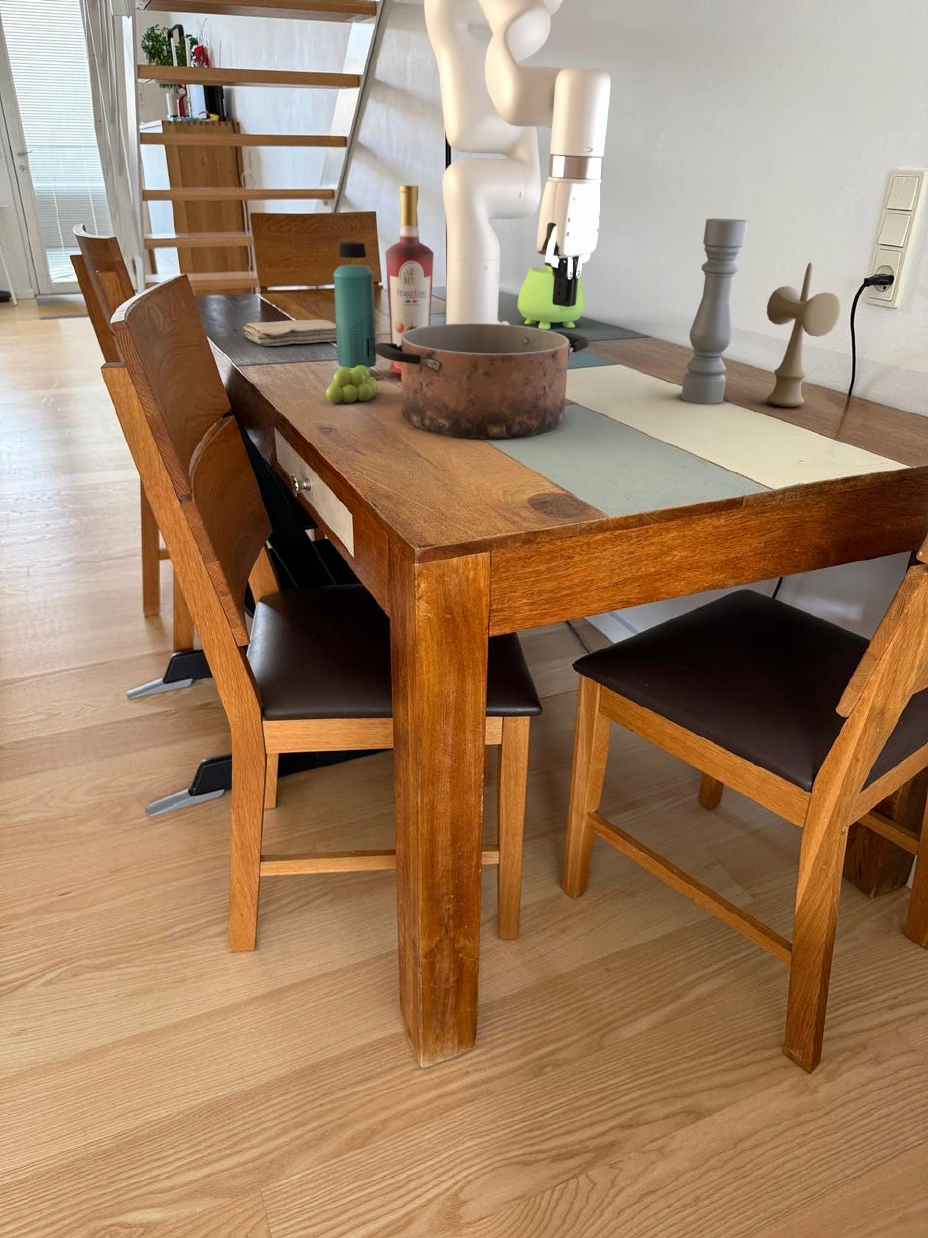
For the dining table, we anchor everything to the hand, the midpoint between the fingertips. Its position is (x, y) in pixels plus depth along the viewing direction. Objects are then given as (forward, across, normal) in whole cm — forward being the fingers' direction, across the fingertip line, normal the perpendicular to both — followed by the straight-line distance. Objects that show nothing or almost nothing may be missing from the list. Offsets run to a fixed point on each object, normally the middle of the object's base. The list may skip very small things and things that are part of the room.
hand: (563, 304), depth 139 cm
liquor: (+13, +11, -21) cm, 27 cm away
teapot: (+14, -48, -32) cm, 60 cm away
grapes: (+12, +27, -18) cm, 35 cm away
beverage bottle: (+13, +15, -29) cm, 35 cm away
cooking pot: (+12, +23, +2) cm, 26 cm away
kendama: (+12, -14, +32) cm, 36 cm away
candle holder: (+12, -8, +21) cm, 25 cm away
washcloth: (+14, +1, -58) cm, 60 cm away
